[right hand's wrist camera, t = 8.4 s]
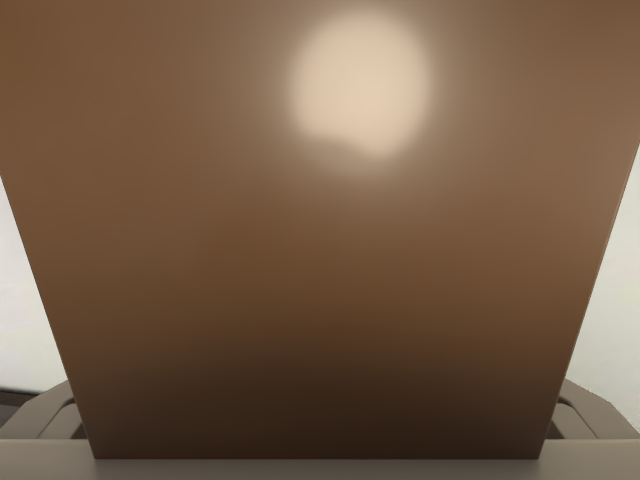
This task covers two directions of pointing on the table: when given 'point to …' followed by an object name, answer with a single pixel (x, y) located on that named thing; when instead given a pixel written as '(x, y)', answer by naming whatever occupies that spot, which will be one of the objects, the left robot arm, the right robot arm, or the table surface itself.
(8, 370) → the table surface
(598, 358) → the table surface
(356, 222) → the box
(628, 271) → the table surface
